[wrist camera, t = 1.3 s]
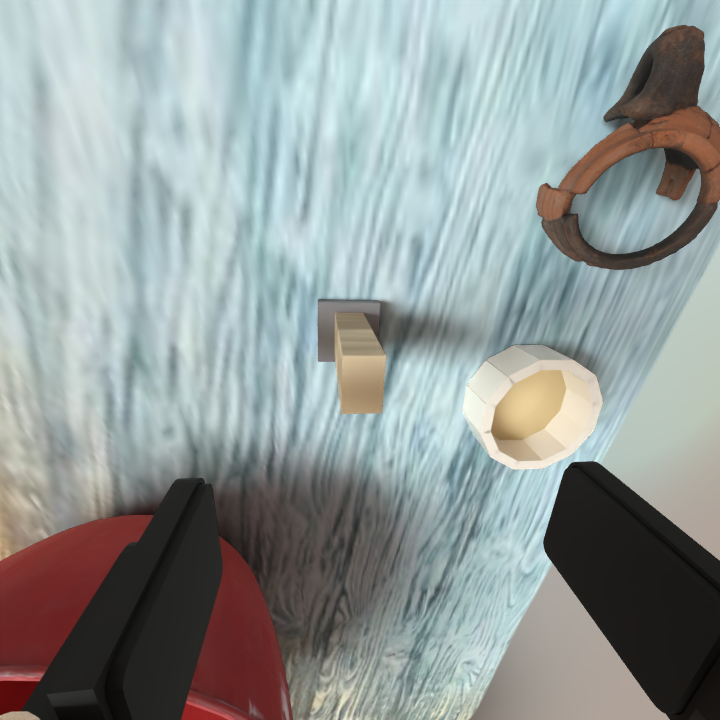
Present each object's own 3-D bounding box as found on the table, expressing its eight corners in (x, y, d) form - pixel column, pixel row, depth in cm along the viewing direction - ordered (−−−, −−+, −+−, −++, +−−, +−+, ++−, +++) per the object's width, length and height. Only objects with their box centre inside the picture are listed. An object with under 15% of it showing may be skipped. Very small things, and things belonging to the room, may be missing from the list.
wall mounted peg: (318, 299, 24) (315, 340, 15) (377, 300, 25) (412, 341, 15) (318, 356, 26) (316, 426, 16) (374, 356, 26) (404, 424, 17)
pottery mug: (665, 231, 25) (721, 275, 19) (527, 246, 29) (537, 288, 23) (728, 13, 19) (845, -26, 12) (538, 67, 22) (556, 58, 16)
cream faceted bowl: (473, 344, 27) (494, 359, 24) (582, 345, 28) (617, 360, 25) (456, 445, 30) (473, 471, 27) (554, 442, 31) (581, 466, 28)
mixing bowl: (355, 491, 31) (386, 716, 16) (263, 678, 39) (229, 937, 25) (-1, 401, 24) (-466, 642, 10) (-22, 648, 32) (-295, 977, 18)
